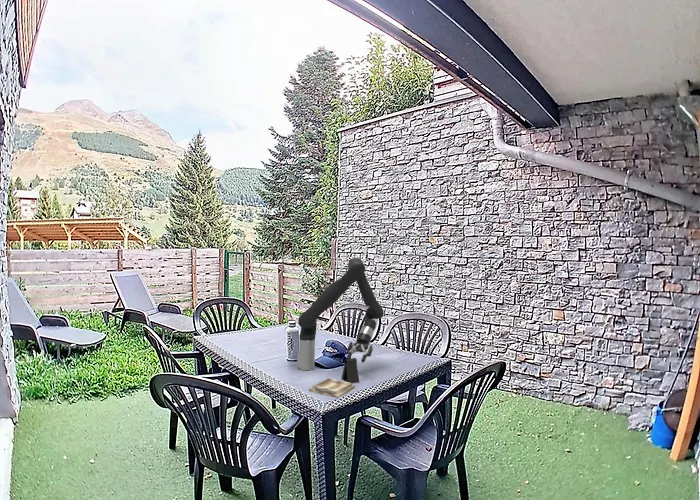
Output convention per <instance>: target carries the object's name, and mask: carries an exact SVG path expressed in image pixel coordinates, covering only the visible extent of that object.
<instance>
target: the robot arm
mask: <svg viewBox="0 0 700 500" xmlns="http://www.w3.org/2000/svg"><path fill="white" fill-rule="evenodd" d="M347 268H348V269H347V271H345V273H344V274H343V275H342V276H341V277H340V278H339V279H337V280H335V281H333V282H331V283H330V284H329V285H328V286H326V288H325V289H324V290H323V291H322V292H321V294H319V296H318V297H317V299H315V301H314V302H313V304H311V306H309V308H307V309H306V310H305V311H303V312H302V313H300V315H299V316H298V321H297V322H298V326H300V332H299V335H298V336H299V337H298V338H299V340H298V351H297V358H296V359H297V360H296V363H297V364H296V365H297V366H296V368H297V369H298V370H302V371H312V370H314V369H315V360H316V357H315V356H316V335H317V323H318V322H317V321H318V319H319V317H320V316H321V315H322V314H323V313H324V312H325V311H327V310H328V309H330V308H331V306H333V305H334V304H335V303H336V302H337V301H338V300H339V299H340V298H341V296H343V294H345V292H346V291H347V290H348V289H349V288H350V287H351V286H352V285H353V284H354V283H355V282H356V284H357V287H358V289H359V292H360V295H361V298H362V301H363V303H364V305H365V306H366V307H368V308H366V311H365V316H364V317H365V318H364V323H363V325H362V327H361V328H360V330H359V332H358V335H357V338H356V342H355V343H354V342H353V341H350V342H349V344H348V347H347V349H346V352H347V353H348V354H347V356H346V359H351V358H352V357H353V354H355V353H363V354H362V355H363V356H362V357H361V360H360V362H361V363H364V362H366V359H367V357H372V353H373V350H374V347H373V345H372V344H370V343H371V341H372V338H373V336H374V332H375V330H376V326H377V322H376V320H379V319H382V318H383V317H384V313H385V312H384V309H383V307H382V306H381V304H380V302H378V301H377V298H376V296H375V293H374V291H373V290H372V286H371V284H370V283H369V281H368V278H367V276H366V266H365V264H364V261H363V260H361V259H360V258H358V257H353V258H350V260H349V261H348V264H347ZM374 319H375V320H374ZM366 350H367V351H366Z"/></svg>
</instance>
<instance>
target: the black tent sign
mask: <svg viewBox="0 0 700 500" xmlns="http://www.w3.org/2000/svg"><path fill="white" fill-rule="evenodd" d="M357 363H358V359H357V358H356V357H351V359H348V358H346V359H344V364H343V365H344V366H343V369H342V375H341V379H340V380H341V381H344V382H349V383H352V384H357V383H360V379H359V378H360V377H359V372H358V371H359V370H358V364H357Z"/></svg>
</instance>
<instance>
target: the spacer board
mask: <svg viewBox="0 0 700 500" xmlns="http://www.w3.org/2000/svg"><path fill="white" fill-rule="evenodd" d="M355 387H356V385H353V383H349V382H346V381H344V380H338V379H335V378H330V377H327V378H325V379H323V380H321V381H319V382H318V383H315V384H313V385H312V386H311V387H310V388H308V391H309V392H311V393H315V394H316V393H317V394H318V395H319V394H320V395H325V396H329V397H333V398H335V399H336V398H337V399H338V398H340V397H342V396H344V395H346V394H347V393H349V392H350V391H352V390H353V389H355Z"/></svg>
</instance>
